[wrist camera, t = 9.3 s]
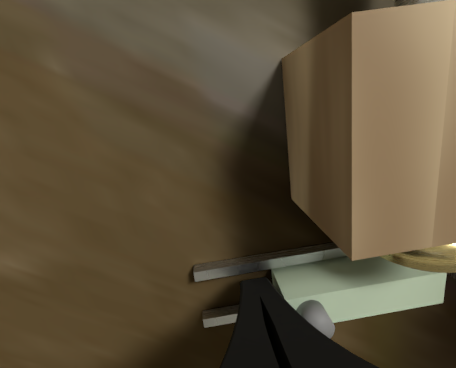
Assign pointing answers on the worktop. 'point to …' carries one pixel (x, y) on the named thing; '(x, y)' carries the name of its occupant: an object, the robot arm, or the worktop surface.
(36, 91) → the worktop surface
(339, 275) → the keeper bolt
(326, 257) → the keeper guide
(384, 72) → the block
